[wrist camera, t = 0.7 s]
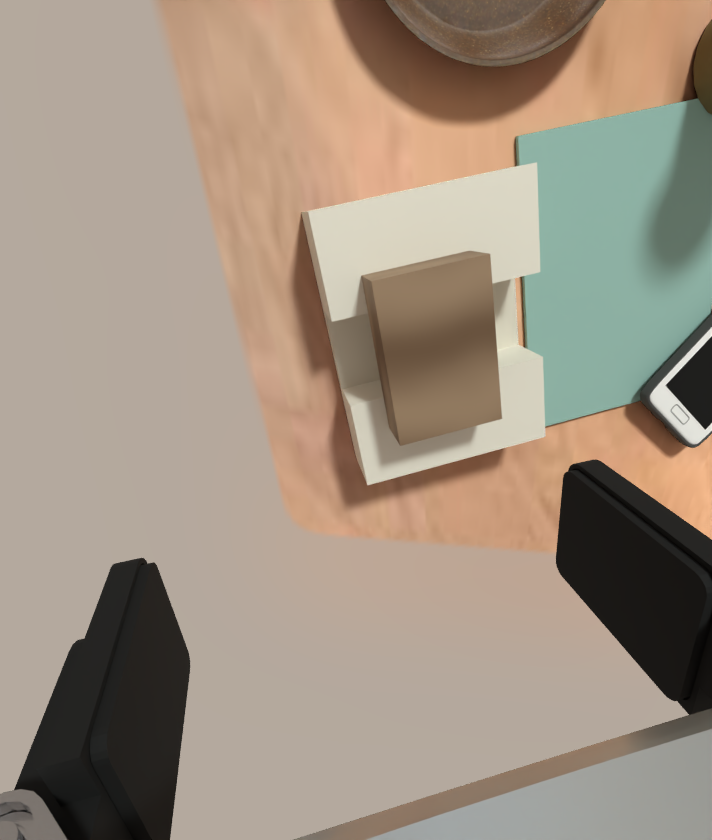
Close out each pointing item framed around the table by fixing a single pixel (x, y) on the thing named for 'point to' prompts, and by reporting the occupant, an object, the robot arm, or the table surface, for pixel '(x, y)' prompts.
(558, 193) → the mat
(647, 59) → the table surface
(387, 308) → the brown flat block
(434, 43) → the saucer
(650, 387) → the cell phone
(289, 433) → the table surface
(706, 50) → the pepper mill
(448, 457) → the slotted block
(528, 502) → the table surface
